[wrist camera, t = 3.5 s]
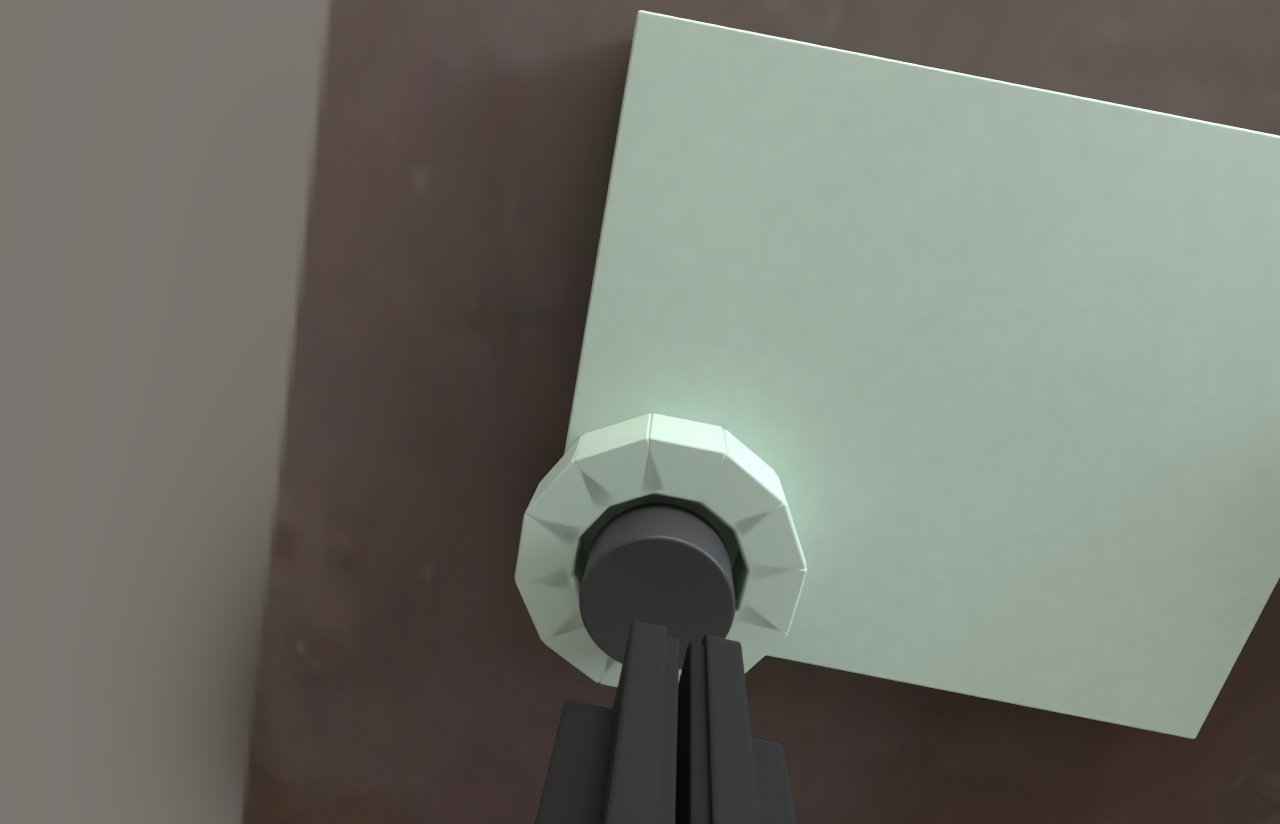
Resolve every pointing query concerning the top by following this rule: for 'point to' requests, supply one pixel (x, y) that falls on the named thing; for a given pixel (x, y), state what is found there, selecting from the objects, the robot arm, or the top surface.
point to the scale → (932, 375)
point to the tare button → (657, 578)
